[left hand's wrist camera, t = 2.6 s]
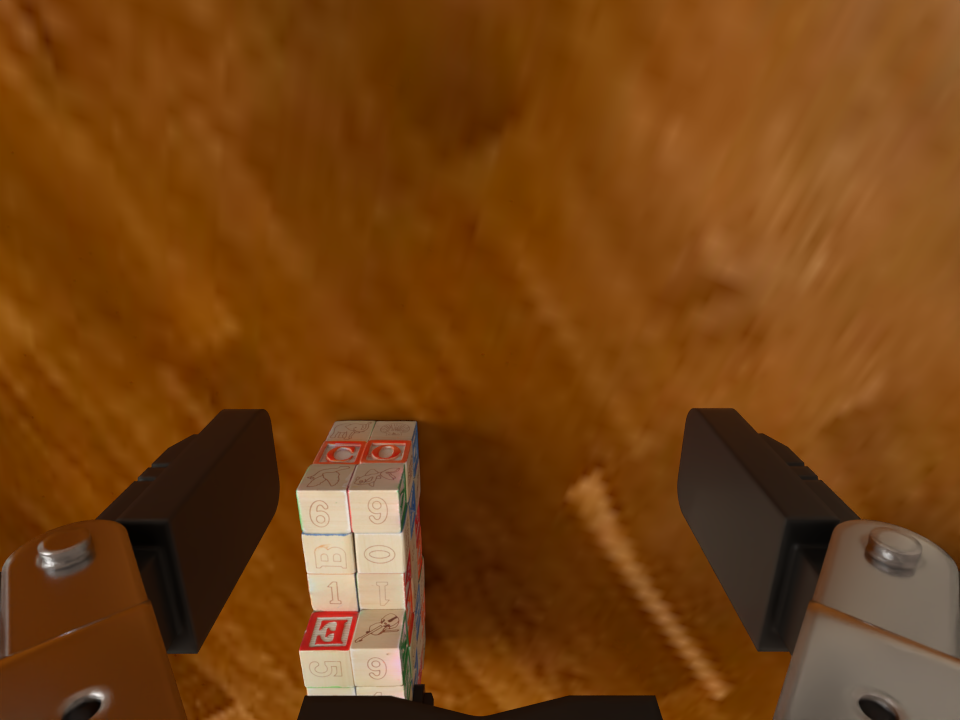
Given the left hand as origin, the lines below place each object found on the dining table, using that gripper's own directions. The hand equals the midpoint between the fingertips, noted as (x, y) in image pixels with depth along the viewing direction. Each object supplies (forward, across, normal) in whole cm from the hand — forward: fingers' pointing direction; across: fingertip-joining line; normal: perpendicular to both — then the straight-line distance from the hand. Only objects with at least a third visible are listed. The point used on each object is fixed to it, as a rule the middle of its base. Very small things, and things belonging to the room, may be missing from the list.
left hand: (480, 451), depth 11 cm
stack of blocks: (+28, -8, -24) cm, 38 cm away
